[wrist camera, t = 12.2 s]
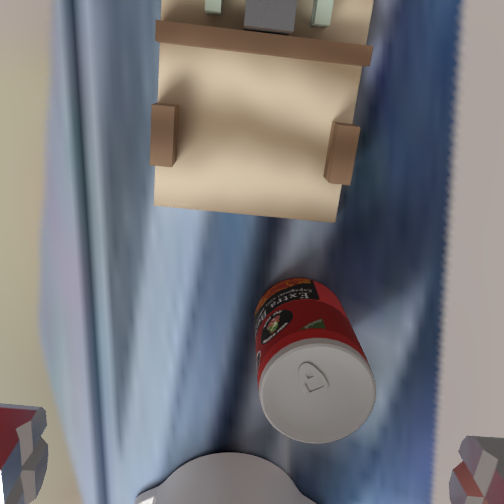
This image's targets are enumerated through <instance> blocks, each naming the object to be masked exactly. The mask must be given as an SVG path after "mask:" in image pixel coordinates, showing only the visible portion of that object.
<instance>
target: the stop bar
mask: <svg viewBox="0 0 504 504" xmlns="http://www.w3.org/2000/svg"><path fill="white" fill-rule="evenodd" d="M296 7H297V0H246V5H245V16H244V28H243V30H244V31H253V32H261V33H269V34H278V35H286V36H289V35H290V34H291V33H292V32H293V31H294V23H295V15H296Z"/></svg>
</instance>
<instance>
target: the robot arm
mask: <svg viewBox="0 0 504 504" xmlns="http://www.w3.org/2000/svg"><path fill="white" fill-rule="evenodd" d="M46 426H47V421H46V411H45V410H44V409H43V408H42V407H34V406H23V405H12V404H1V403H0V504H29V503H30V502H32V501H33V500H34V499H36V497H37V495H38V493H39V491H40V489H41V486H42V484H43V480H44V477H45V473H46V469H47V461H48V444H47V443H46V442H45V441H44V439H42V437H41V435H42V433H43V431H44V429H45V428H46ZM458 452H459V454H460V456H461V458H462V459H463V461H462V462H461V463H460V464H459V465H458V466H457V467H455V468H454V469H453V470H452V474H451V478H450V482H449V492H450V501H451V504H504V438H495V437H480V436H466V437H465V439H464V440H463V441H462V443H461V446H460V449H459V451H458ZM135 504H316V503H315V502H313V501H312V500H310V499H309V498H307V497H305V496H304V495H302V494H301V493H300V491H299V490H298V489H297V487H296V486H295V484H294V482H293V481H292V480H291V478H290V477H289V476H288V475H287V474H286V473H285V472H284V471H283V470H282V469H280V468H279V467H278V466H276V465H275V464H273V463H271V462H269V461H267V460H265V459H263V458H260V457H257V456H253V455H249V454H243V453H216V454H210V455H206V456H202V457H199V458H197V459H194V460H192V461H190V462H188V463H186V464H184V465H183V466H181V467H180V468H178V469H177V470H176V471H174V472H173V473H172V474H171V475H170V476H169V477H168V478H167V479H166V480H165V481H164V482H163V483H162V484H161V485H159V486H158V487H155V488H153V489H151V490H148V491H146V492H144V493H142V494H140V495H139V496H138V497H137V498H136V499H135Z"/></svg>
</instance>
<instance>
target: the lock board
mask: <svg viewBox="0 0 504 504" xmlns="http://www.w3.org/2000/svg"><path fill="white" fill-rule="evenodd" d="M373 1H374V0H297V7H296V15H295V23H294V31H293V32H292V33H291V34H290V35H289V36H286V35H278V34H269V33H261V32H253V31H244V30H243V28H244V16H245V5H246V0H162V4H161V20H156V33H155V41H157V42H160V57H159V84H158V103H155V104H152V113H151V143H150V165H153V166H155V190H154V206H165V207H175V208H186V209H196V210H206V211H217V212H227V213H238V214H248V215H259V216H269V217H280V218H290V219H301V220H311V221H321V222H332V223H335V221H336V215H337V209H338V204H339V198H340V192H341V186H342V185H350V184H351V178H352V173H353V167H354V162H355V156H356V150H357V145H358V139H359V134H360V128H361V127H359V126H356V125H354V124H352V123H353V117H354V111H355V105H356V100H357V94H358V88H359V82H360V76H361V71H362V66H370V61H371V56H372V50H373V46H369V45H366V42H367V36H368V30H369V25H370V19H371V13H372V7H373Z"/></svg>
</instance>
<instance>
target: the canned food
mask: <svg viewBox="0 0 504 504" xmlns="http://www.w3.org/2000/svg"><path fill="white" fill-rule="evenodd" d="M254 327H255V345H256V362H257V379H258V390H259V397H260V402H261V406H262V410H263V412H264V414H265V416H266V418H267V419H268V421H269V422H270V423H271V425H272V426H273V427H274V428H275V429H277V430H278V431H279V432H280V433H282V434H283V435H285V436H287V437H288V438H291V439H294V440H296V441H299V442H305V443H315V444H321V443H328V442H333V441H336V440H339V439H342V438H344V437H346V436H348V435H350V434H351V433H353V432H354V431H355V430H357V429H358V428H359V427H360V426H361V425H362V424H363V423H364V422H365V421H366V420H367V418H368V416H369V415H370V413H371V412H372V409H373V406H374V403H375V397H376V386H375V381H374V377H373V374H372V371H371V368H370V366H369V363H368V361H367V358H366V356H365V354H364V352H363V350H362V348H361V346H360V343H359V341H358V339H357V337H356V335H355V333H354V331H353V328H352V326H351V324H350V322H349V320H348V318H347V316H346V314H345V311H344V309H343V307H342V305H341V303H340V301H339V300H338V298H337V296H336V295H335V294H334V293H333V292H332V291H331V290H330V289H328V288H327V287H326V286H324V285H323V284H321V283H319V282H316V281H314V280H311V279H307V278H291V279H286V280H283V281H280V282H279V283H277V284H275V285H273V286H272V287H271V288H270V289H269V290H268V291H267V292H266V293H265V294H264V295H263V297H262V298H261V300H260V301H259V303H258V306H257V308H256V312H255V316H254Z"/></svg>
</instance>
